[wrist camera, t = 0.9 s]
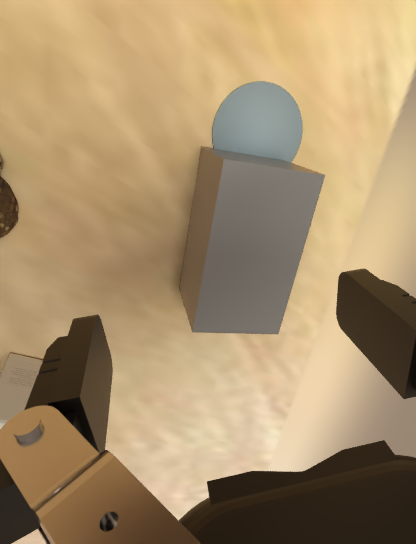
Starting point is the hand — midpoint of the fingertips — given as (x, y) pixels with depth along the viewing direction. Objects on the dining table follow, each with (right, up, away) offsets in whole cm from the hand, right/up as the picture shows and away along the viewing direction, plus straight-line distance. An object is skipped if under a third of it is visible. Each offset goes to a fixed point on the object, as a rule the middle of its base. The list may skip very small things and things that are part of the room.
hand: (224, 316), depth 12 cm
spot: (+3, +12, +15) cm, 19 cm away
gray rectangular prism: (+1, +5, +18) cm, 18 cm away
